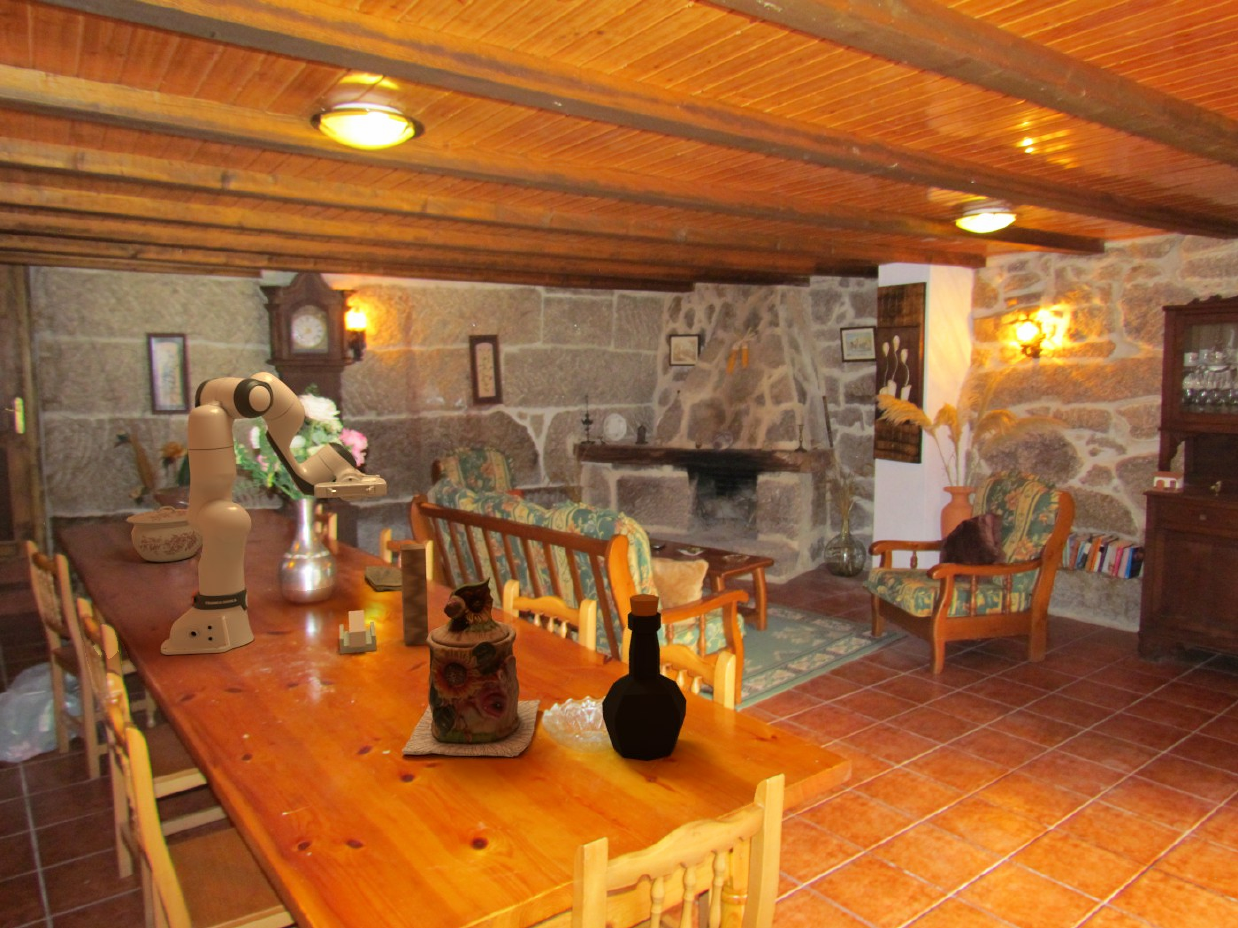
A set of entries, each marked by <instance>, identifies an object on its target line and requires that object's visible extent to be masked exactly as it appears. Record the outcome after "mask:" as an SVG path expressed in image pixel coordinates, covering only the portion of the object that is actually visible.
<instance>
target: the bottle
mask: <svg viewBox="0 0 1238 928" xmlns="http://www.w3.org/2000/svg"><path fill="white" fill-rule="evenodd" d="M659 602H660V597H659V596H657V595H655V594H649V593H648V594H647V593H639V594H635V595H634V594H633V595H632V596H630V597H629V603H630V604H629V606H630V611H629V613H628V614H627V629H628V630H629V631H631V634H630V641H629V648H628V673H627V674H625V675H624V676H621V677H619V678H618V679H617V680H615V682H613V683H612V684H611V686H610V688H609V690H608V691H607V694H606V695H605V697H604V699H603V700H602V702H601V705H602V706H601V707H602V719H603V722H604V725H605V728H606V731H607V733H608V737H609V739H610V742H611V743H610V744H611V745H612V748H613V749H614V750H615V752H616V753H618V755H620V756H621V757H622V758H627V759H633V760H639V761H645V762H649V761H653V760H659V759H662V758H665V757H669V756H671V755H672V753H673V752H674V749H675V748H676V746H677V743H678V739H679V736H680V733H681V730H682V728H683V724H684V721H685V717H686V715H687V699H686V697H685V695H684V694H683V692H682V690H681V688H680V687H679V685H678V683H677V681H675V680H674V679H672V678H670V677H667V676H666V675H664V674H661V649H660V648H661V647H660V641H659V635H658V632H659V631H660V629H661V628H662V613H661V612H658V611H659V610H658V609H659Z"/></svg>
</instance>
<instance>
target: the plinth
mask: <svg viewBox="0 0 1238 928" xmlns="http://www.w3.org/2000/svg"><path fill="white" fill-rule="evenodd" d="M426 550H427V549H426V546H425V544H424V543H404V544H400V568H401V569H400V571H401V575H402V590H401V595H402V596H401V599H402V625H403V626H402V627H403V628H402V629H403V630H402V631H403V633H402V634H403V642H404V645H405V647H410V646H421V645H426V640H427V637H428V635H429V619H428V618H429V617H428V616H429V615H428V584H427V554H426V553H427V551H426Z"/></svg>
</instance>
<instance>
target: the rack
mask: <svg viewBox="0 0 1238 928" xmlns="http://www.w3.org/2000/svg"><path fill="white" fill-rule="evenodd" d="M369 627H370V628H365V629H366V646H362V647H352V648H350V634H349V630H346V631H345V630H344V628H345V627H344V623H343V624H339V654H340V655H342V654H343V655H344V654H354V653H355V652H356V653H365V652H373V651H374V652H375V651H377V637H376V635H377V634H376V628H375V627H376V626H375V621H369Z"/></svg>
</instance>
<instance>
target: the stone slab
mask: <svg viewBox="0 0 1238 928" xmlns="http://www.w3.org/2000/svg"><path fill="white" fill-rule="evenodd" d="M364 568H365V569H364V579H365V580H367V581H368V582H369V584H370V585H371V587H372V588H373V589H374V590H376V591H377V592H384V591H390V592H391V591H392V592H393V591H394V592H399V591H401V592H402V575H401V569H399V568H398V567H393V566H383V565H377V566H376V565H375V566H374V565H372V566H370V565H368V566H367V565H366V566H365V567H364Z"/></svg>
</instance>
